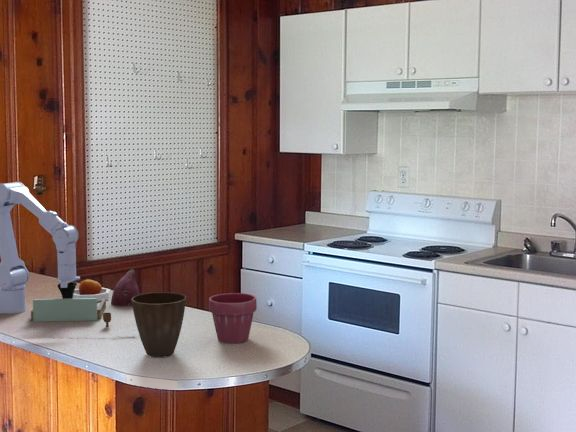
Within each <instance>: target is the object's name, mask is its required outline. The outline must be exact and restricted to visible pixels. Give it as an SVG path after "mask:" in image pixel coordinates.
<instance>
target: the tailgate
mask: <svg viewBox="0 0 576 432" xmlns="http://www.w3.org/2000/svg"><path fill="white" fill-rule="evenodd" d="M97 307H98V302H97V298H70V299H63V298H38V299H37V298H36V299H35V298H34V299H32V310H33V320H34V321H33V323H38V322H39V323H40V322H43V323H45V322H77V321H79V322H81V321H82V322H83V321H98V319H97Z"/></svg>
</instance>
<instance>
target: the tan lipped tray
mask: <svg viewBox="0 0 576 432" xmlns="http://www.w3.org/2000/svg"><path fill="white" fill-rule="evenodd" d="M106 308H107V300H106V299H102V301H100V304H99V305H98V306H97V320H101V319H102V318H103V313H105V311H106ZM30 319H31V320H30V321H31V322H34V320H33V309H31V311H30Z"/></svg>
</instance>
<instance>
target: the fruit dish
mask: <svg viewBox="0 0 576 432" xmlns="http://www.w3.org/2000/svg"><path fill="white" fill-rule="evenodd" d="M73 298H97V303H99V302H101V301H102V299H106V301H108V300H110V298H111V288H106V287H102V288H101V291H100V293H99V294H95V295H80V293H79V288H75V290H74V294H73Z"/></svg>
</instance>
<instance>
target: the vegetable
mask: <svg viewBox="0 0 576 432" xmlns="http://www.w3.org/2000/svg"><path fill="white" fill-rule="evenodd" d="M137 295H141V294H140V290H139V287H138V285H137V280H136V272H135V269H134V268H131V269H130V270H128V271H127V272H126V274H125V275H124V276H122V277H121V278H120V279H119V280H118V281H117V283H116V285H115V286H114V289H113V291H112V295H111V300H110V305H112V306H117V307H133V305H132V298H133V297H134V296H137Z"/></svg>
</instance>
